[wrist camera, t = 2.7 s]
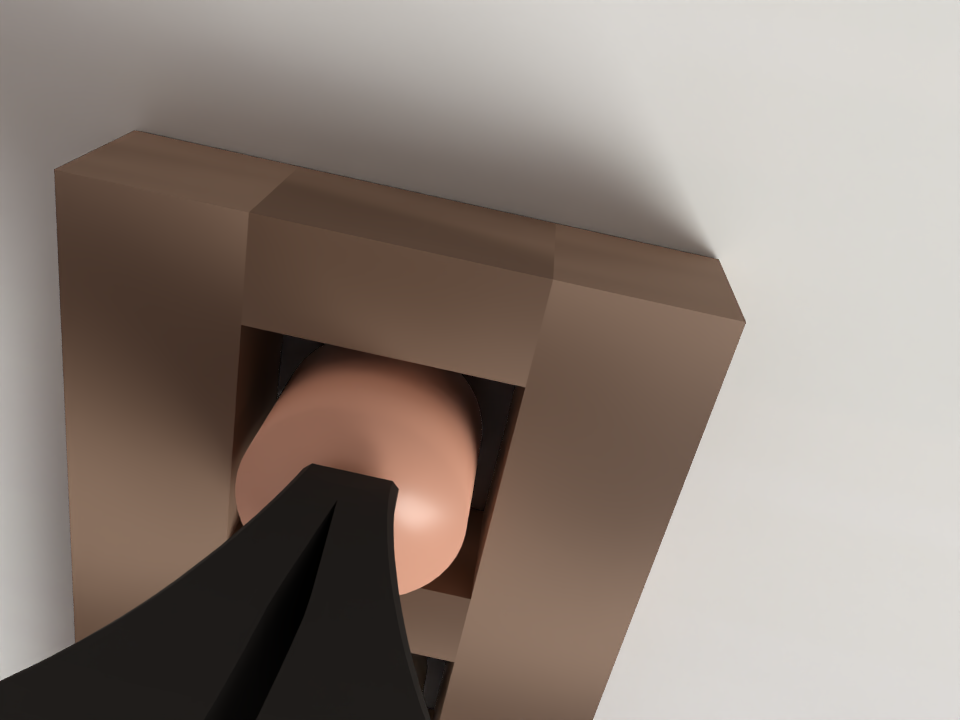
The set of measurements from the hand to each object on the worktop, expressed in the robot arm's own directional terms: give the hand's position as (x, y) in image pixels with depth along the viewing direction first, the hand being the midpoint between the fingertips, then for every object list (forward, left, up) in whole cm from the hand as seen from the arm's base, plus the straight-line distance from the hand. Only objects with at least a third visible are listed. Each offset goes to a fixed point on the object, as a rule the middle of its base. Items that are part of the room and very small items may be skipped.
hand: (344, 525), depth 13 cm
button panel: (-3, -5, -4) cm, 7 cm away
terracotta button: (0, 0, -4) cm, 4 cm away
